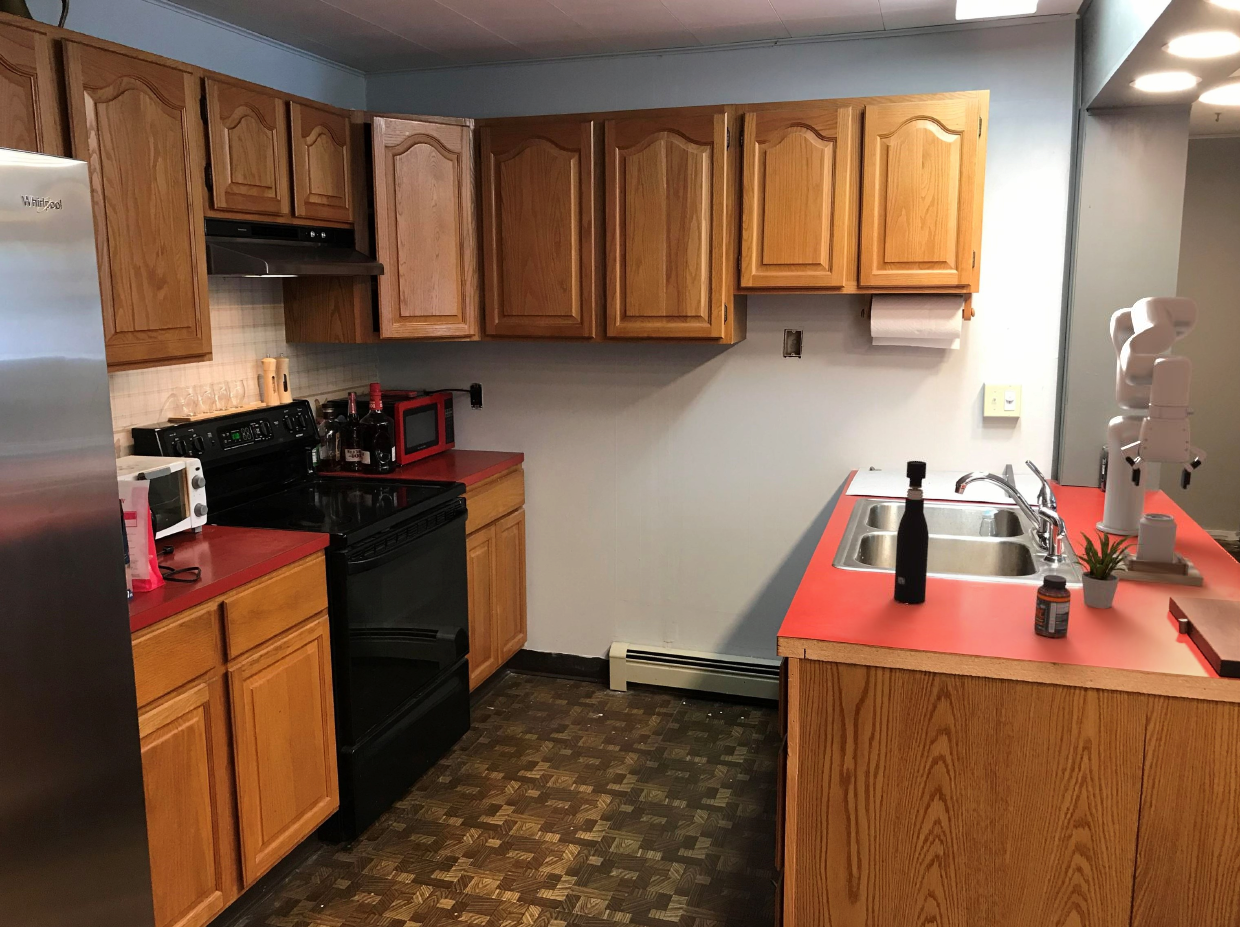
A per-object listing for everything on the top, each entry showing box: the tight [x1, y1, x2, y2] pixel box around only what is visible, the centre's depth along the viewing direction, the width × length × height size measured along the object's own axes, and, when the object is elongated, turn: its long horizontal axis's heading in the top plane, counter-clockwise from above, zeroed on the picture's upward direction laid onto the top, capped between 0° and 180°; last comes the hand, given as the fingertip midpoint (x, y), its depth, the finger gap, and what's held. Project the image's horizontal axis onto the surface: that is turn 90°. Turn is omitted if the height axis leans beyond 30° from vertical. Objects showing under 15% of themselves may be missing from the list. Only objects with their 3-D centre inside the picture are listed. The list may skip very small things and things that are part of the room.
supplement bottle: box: [1033, 574, 1071, 639], centre depth 187 cm, size 6×6×11 cm
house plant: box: [1070, 527, 1142, 609], centre depth 203 cm, size 14×14×16 cm
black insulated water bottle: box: [893, 460, 930, 605], centre depth 205 cm, size 6×6×30 cm
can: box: [1136, 512, 1178, 563], centre depth 224 cm, size 8×8×12 cm
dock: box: [1108, 547, 1204, 587], centre depth 226 cm, size 16×18×4 cm
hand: (1159, 486), depth 223 cm, fingers open, 9 cm apart
